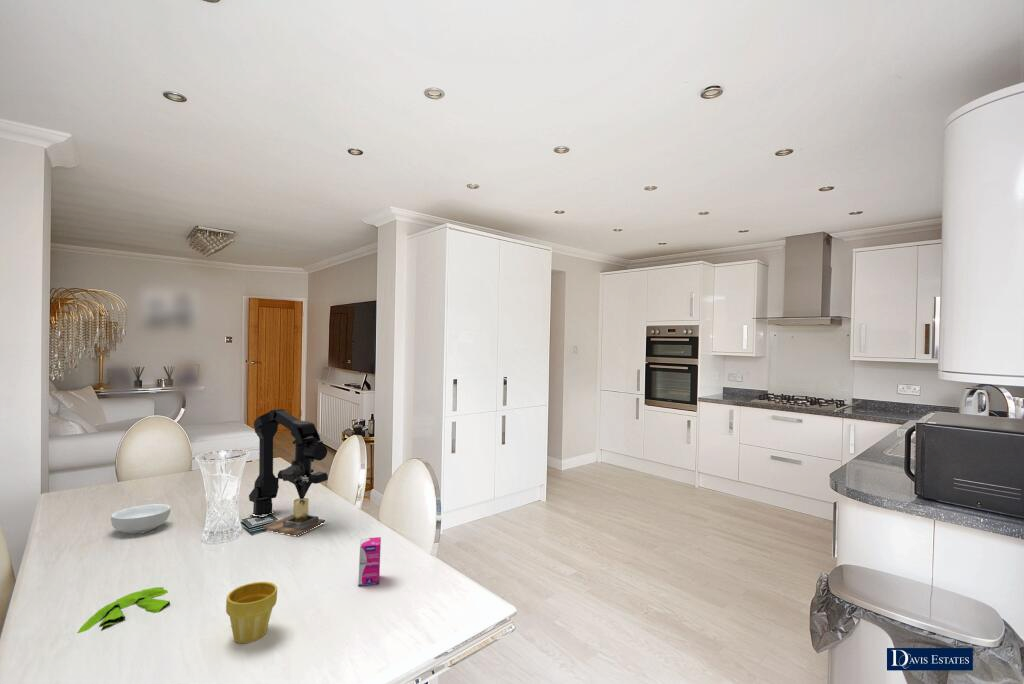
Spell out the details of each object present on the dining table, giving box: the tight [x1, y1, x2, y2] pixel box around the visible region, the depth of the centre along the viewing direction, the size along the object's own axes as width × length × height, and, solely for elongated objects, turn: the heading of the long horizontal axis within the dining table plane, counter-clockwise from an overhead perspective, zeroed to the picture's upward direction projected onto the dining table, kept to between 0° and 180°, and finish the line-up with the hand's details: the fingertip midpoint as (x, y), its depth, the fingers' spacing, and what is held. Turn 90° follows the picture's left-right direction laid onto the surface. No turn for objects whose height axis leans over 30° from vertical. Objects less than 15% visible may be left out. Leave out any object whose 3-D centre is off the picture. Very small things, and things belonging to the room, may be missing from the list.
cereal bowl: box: [110, 503, 171, 535], centre depth 167 cm, size 17×17×7 cm
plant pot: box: [225, 581, 278, 644], centre depth 106 cm, size 10×10×10 cm
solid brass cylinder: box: [293, 497, 309, 523], centre depth 172 cm, size 5×5×9 cm
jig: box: [262, 514, 326, 536], centre depth 172 cm, size 16×14×4 cm
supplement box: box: [357, 536, 382, 587], centre depth 133 cm, size 6×6×12 cm
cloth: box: [76, 586, 171, 634], centre depth 115 cm, size 20×22×2 cm
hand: (301, 498), depth 172 cm, fingers closed
